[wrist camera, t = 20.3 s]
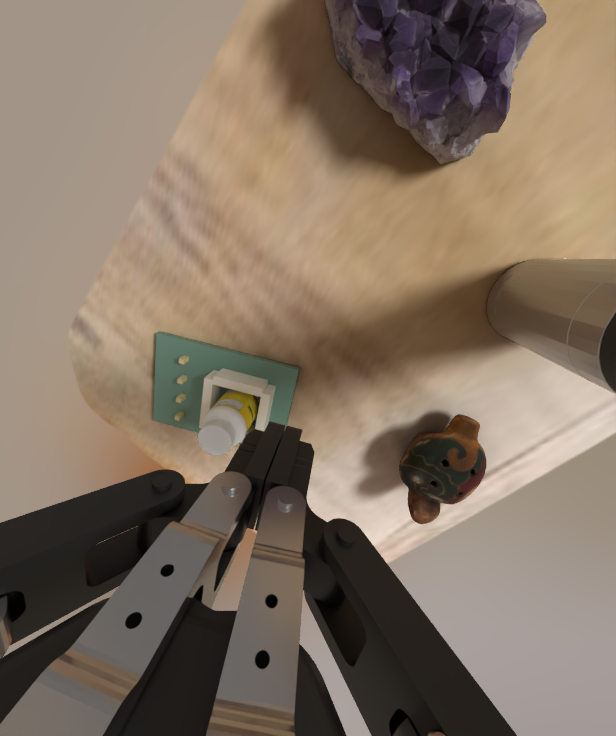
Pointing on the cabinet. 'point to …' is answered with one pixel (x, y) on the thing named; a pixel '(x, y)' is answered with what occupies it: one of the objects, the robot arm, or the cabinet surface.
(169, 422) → the header board
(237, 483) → the robot arm
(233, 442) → the supplement bottle
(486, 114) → the geode
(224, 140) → the cabinet surface
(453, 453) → the decorative turtle
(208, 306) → the cabinet surface
